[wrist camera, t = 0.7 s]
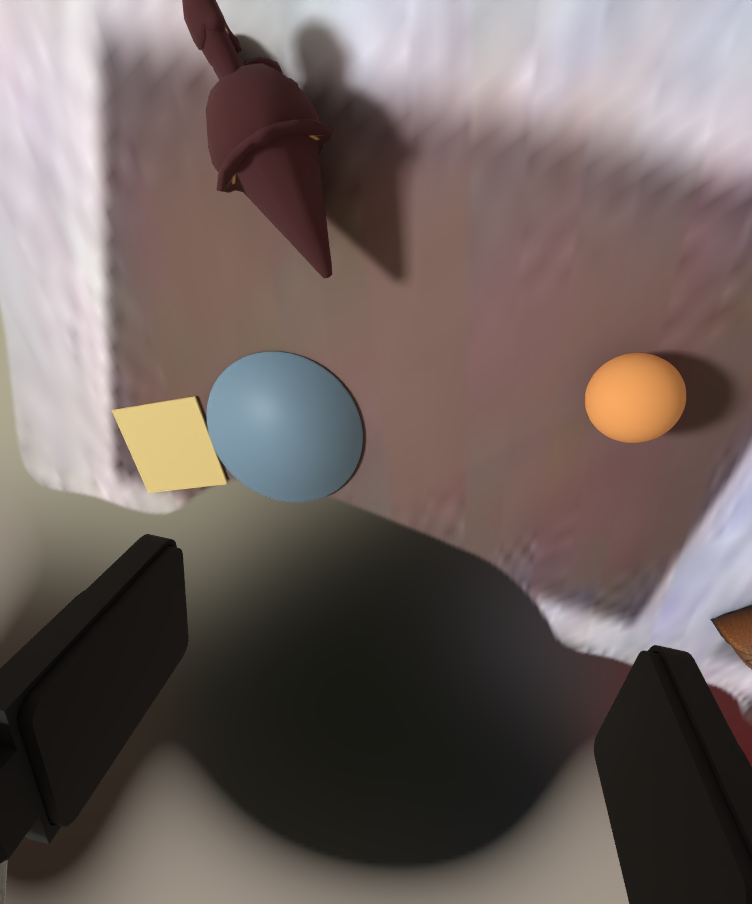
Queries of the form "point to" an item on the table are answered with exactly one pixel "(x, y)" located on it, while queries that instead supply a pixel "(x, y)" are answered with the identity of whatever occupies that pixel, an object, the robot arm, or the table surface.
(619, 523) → the table surface
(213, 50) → the icecream
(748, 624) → the sunglasses case
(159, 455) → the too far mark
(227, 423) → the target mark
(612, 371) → the ball
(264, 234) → the table surface
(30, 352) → the table surface
